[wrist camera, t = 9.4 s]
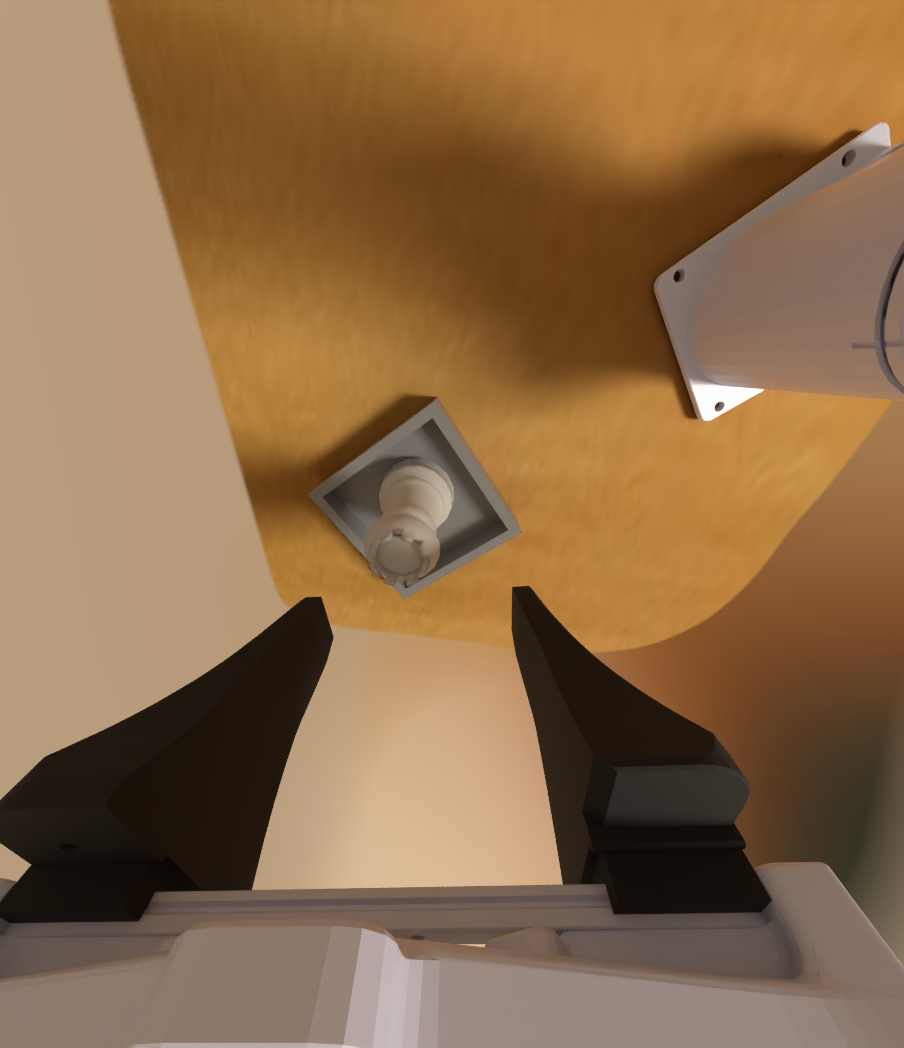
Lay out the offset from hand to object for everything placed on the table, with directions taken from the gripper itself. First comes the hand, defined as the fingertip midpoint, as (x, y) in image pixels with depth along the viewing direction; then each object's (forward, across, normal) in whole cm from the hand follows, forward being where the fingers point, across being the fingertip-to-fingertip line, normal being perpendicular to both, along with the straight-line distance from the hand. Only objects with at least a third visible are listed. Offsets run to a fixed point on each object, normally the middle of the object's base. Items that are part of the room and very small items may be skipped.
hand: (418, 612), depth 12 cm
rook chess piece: (+10, +1, -1) cm, 10 cm away
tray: (+10, +1, -1) cm, 10 cm away
